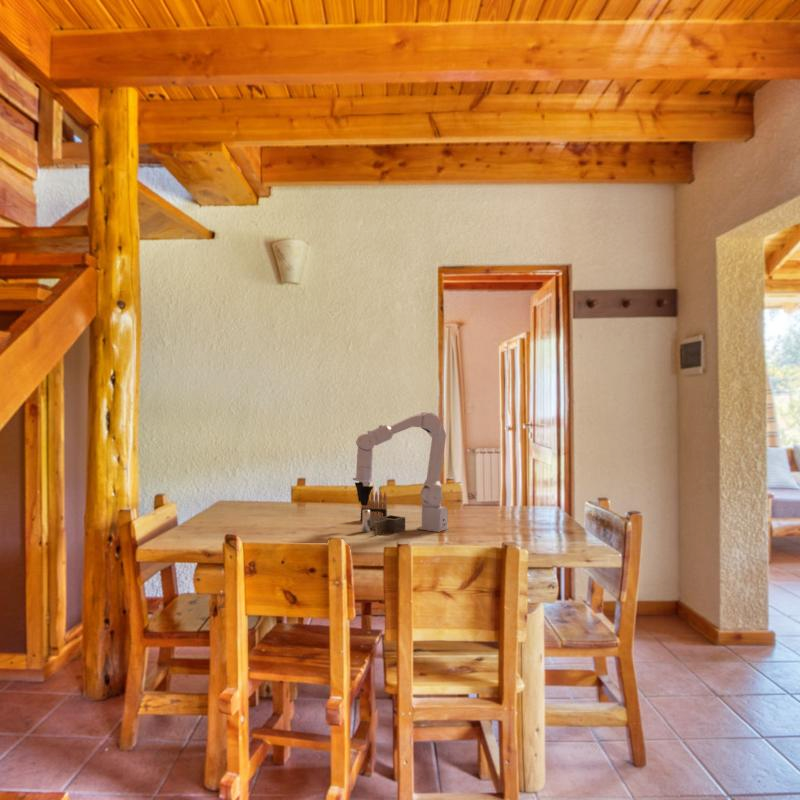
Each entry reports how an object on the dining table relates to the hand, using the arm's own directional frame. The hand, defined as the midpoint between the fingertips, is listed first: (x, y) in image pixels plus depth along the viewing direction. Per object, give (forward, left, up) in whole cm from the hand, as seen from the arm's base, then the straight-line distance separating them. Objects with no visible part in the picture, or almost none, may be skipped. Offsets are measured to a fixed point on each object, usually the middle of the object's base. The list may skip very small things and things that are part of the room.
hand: (362, 503), depth 223 cm
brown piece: (-5, -4, -10) cm, 12 cm away
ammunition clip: (+8, -18, -11) cm, 23 cm away
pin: (-1, 0, -10) cm, 10 cm away
